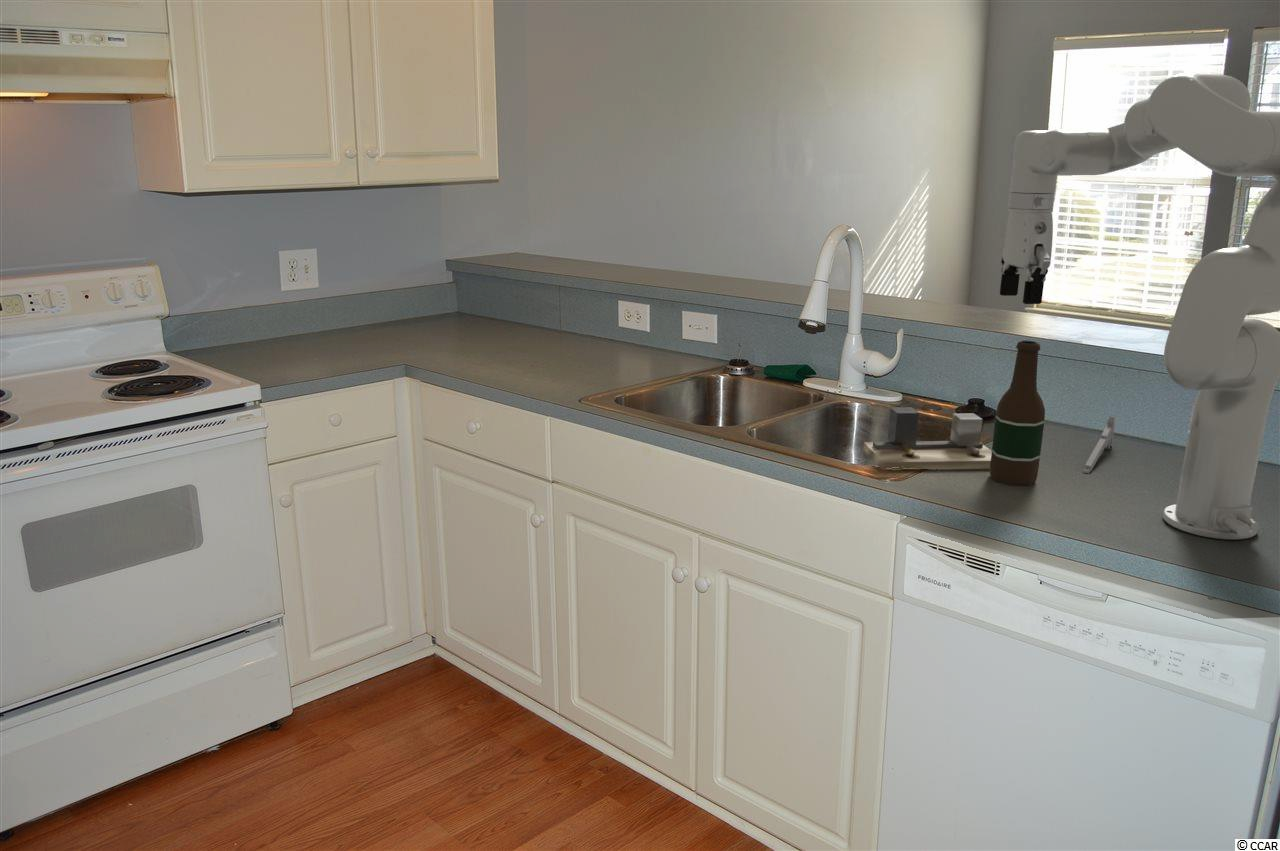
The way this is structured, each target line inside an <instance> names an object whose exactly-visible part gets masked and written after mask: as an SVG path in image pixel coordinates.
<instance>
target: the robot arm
mask: <svg viewBox="0 0 1280 851" xmlns="http://www.w3.org/2000/svg"><path fill="white" fill-rule="evenodd" d="M1251 99H1252V98H1251V94H1250V91H1249V90H1248V88H1247V86H1246V85H1245V84H1244V83H1243V82H1242V81H1241V80H1239V79H1237V78H1235V77H1234V76H1230V75H1226V74H1218V73H1215V74H1214V73H1194V72H1193V73H1192V72H1188V73H1187V72H1185V73H1179V74H1175V75H1172V76H1170V77H1167V78H1166V79H1164V80H1162V81H1161V83H1159V84H1158V85H1157V86H1156V87H1155V88H1154V90H1153V91H1152V92H1151V94H1150V95H1149V97H1147V98H1145V99H1142V100H1141V99H1140V100H1139V101H1137V102H1135V103H1134V104H1133V105H1132V106H1130V107H1129V109H1128V111H1127V112H1126V114H1125V117H1124V123H1120V124H1116V125H1113V126H1110V127H1107V128H1101V129H1094V128H1093V129H1090V128H1087V129H1086V128H1075V129H1073V128H1066V129H1065V128H1064V129H1063V128H1061V129H1059V128H1058V129H1055V130H1054V129H1053V130H1023V131H1021V132H1019V133H1018V134H1017V135H1016V136H1015V140H1014V141H1015V142H1014V147H1013V148H1014V149H1013V158H1012V159H1013V160H1012V167H1011V175H1010V176H1011V178H1010V188H1009V195H1008V203H1007V212H1009V214H1008V218H1007V223H1006V224H1007V225H1006V228H1005V229H1006V230H1005V236H1004V244H1003V247H1002V248H1001V261H1000V263H1001V265H1002V267H1001V270H1000V271H1001V278H1000V287H999V295H1000V296H1003V297H1004V296H1007V297H1008V296H1013V297H1014V296H1017V295H1018V294H1019V293H1018V292H1019V284H1020V275H1021V274H1020V273H1019V271H1020V269H1021V270H1025V274H1026V279H1027V280H1025V281H1024V288H1023V297H1022V303H1023V304H1024V305H1041V304H1042V302H1043V301H1042V300H1043V293H1044V285H1045V282H1046V278H1047V277H1046V276H1047V275H1048V272H1049V270H1048V269H1049V268H1050V266H1051V264H1052V263H1051V262H1052V251H1053V250H1052V249H1053V236H1054V235H1053V234H1054V233H1053V232H1054V231H1053V230H1054V228H1053V227H1054V221H1053V220H1054V218H1053V211H1054V203H1055V194H1056V188H1057V187H1056V186H1057V180H1058V177H1059V176H1062V177H1063V176H1064V177H1065V176H1067V177H1069V176H1070V177H1071V176H1072V177H1073V176H1100V175H1106V174H1109V173H1115V172H1116V171H1120V170H1123V169H1128V168H1131V167H1134V166H1138V165H1140V164H1143V163H1144V162H1146V161H1148V160H1149V159H1151V158H1153V156H1154V155H1157V154H1160V153H1164V152H1167V151H1170V150H1174V149H1177V148H1178V149H1179V150H1180V151H1182V152H1183V153H1185V154H1187V155H1188V156H1190V157H1191V158H1192V159H1194V160H1196V161H1197V162H1198V163H1200V164H1202V165H1203V166H1204V167H1206V168H1207V169H1209V170H1211V171H1213V172H1215V173H1217V174H1219V175H1224V176H1228V177H1235V178H1236V177H1238V178H1243V177H1245V178H1246V177H1272V178H1273V179H1274V182H1273V184H1272V185H1271V187H1270V188H1269V190H1268V191H1267V192H1266V193H1265V195H1264V196H1263V198H1262V199H1261V200H1260V201H1259V203H1258V204H1257V207H1256V208H1255V210H1254V211H1253V214H1252V217H1251V220H1250V224H1249V226H1248V230H1247V231H1246V235H1245V237H1244V239H1243V240H1242V243H1241V244H1240V246H1235V247H1233V246H1232V247H1225V248H1221V249H1216V250H1214V251H1211V252H1209V253H1208V254H1206V255H1205V256H1203V257H1202V258H1201V259H1200V260H1199V261H1198V262H1197V263H1195V265H1194V266H1193V268H1192V269H1191V271H1190V272H1189V275H1188V276H1187V278H1186V280H1185V283H1184V286H1183V289H1182V292H1181V295H1180V298H1179V300H1178V303H1177V306H1176V310H1175V313H1174V316H1173V318H1172V323H1171V325H1170V327H1169V332H1168V334H1167V337H1166V340H1165V345H1164V351H1163V363H1164V368H1165V370H1166V374H1167V375H1168V377H1169V378H1170V380H1172V382H1173V383H1175V384H1176V385H1177V386H1180V387H1181V388H1183V389H1187V390H1193V391H1198V393H1197V395H1196V398H1195V401H1194V403H1193V407H1192V410H1191V417H1190V422H1189V427H1188V433H1187V438H1186V445H1185V451H1184V457H1183V463H1182V468H1181V474H1180V480H1179V486H1178V487H1179V488H1178V491H1177V492H1178V493H1177V499H1176V503H1175V504H1172V505H1169V506H1166V507H1165V508H1164V509H1163V512H1162V513H1163V514H1162V518H1163V520H1164V521H1165V522H1166V523H1168V525H1170V526H1172V527H1173V528H1176V529H1178V530H1180V531H1182V532H1186V533H1189V534H1191V535H1195V536H1201V537H1204V538H1211V539H1217V540H1218V539H1219V540H1230V541H1231V540H1232V541H1233V540H1234V541H1235V540H1245V539H1249V538H1252V537H1254V536H1256V535H1257V534H1258V530H1259V529H1260V524H1259V523H1258V522H1257V521H1255V520H1254V519H1252V514H1253V510H1254V508H1253V507H1252V506H1250V505H1251V499H1252V496H1253V495H1252V494H1253V490H1254V489H1253V488H1254V484H1255V479H1256V473H1257V468H1258V464H1259V463H1258V462H1259V457H1260V454H1261V453H1260V452H1261V449H1262V442H1263V436H1264V432H1265V427H1266V423H1267V422H1266V421H1267V417H1268V414H1269V409H1270V405H1271V401H1272V397H1273V395H1274V392H1275V388H1276V386H1277V384H1278V381H1279V379H1280V331H1279V330H1278V329H1277V328H1276V327H1274V326H1273V325H1272V324H1270V323H1268V322H1267V321H1264V320H1261V319H1256V318H1246V316H1255V315H1265V314H1272V313H1276V312H1279V311H1280V111H1255V110H1254V111H1253V110H1252V111H1250V109H1251Z"/></svg>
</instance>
